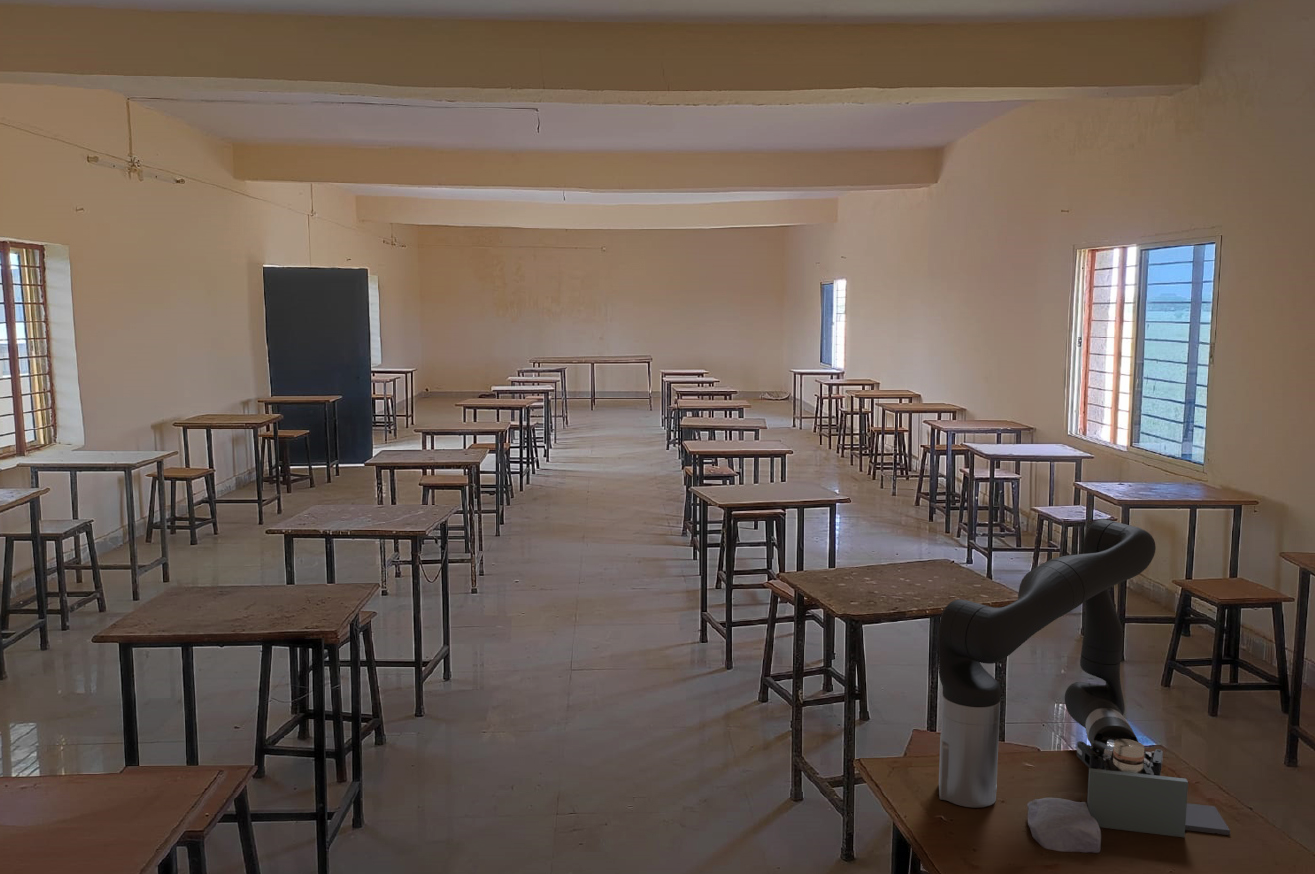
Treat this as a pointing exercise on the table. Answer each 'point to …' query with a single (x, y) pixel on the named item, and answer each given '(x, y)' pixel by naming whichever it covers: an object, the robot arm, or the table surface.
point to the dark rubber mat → (1205, 819)
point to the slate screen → (1138, 802)
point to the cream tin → (1128, 756)
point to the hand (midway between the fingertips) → (1131, 777)
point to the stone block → (1063, 825)
